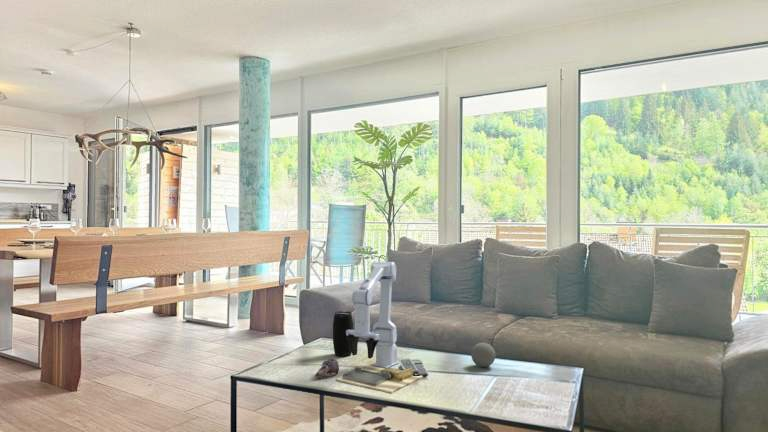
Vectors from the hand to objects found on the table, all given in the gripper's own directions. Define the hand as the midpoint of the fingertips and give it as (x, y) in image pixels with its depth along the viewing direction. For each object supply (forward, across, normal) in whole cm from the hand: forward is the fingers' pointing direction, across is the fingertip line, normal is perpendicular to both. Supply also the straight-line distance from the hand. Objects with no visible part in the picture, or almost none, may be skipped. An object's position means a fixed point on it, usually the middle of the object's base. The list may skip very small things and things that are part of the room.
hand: (362, 356), depth 199 cm
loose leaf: (+9, +7, +12) cm, 17 cm away
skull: (+10, -17, -2) cm, 20 cm away
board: (+10, +3, +7) cm, 12 cm away
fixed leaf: (+9, 0, +3) cm, 10 cm away
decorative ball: (+10, +29, +45) cm, 55 cm away
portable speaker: (+10, -31, +26) cm, 42 cm away
